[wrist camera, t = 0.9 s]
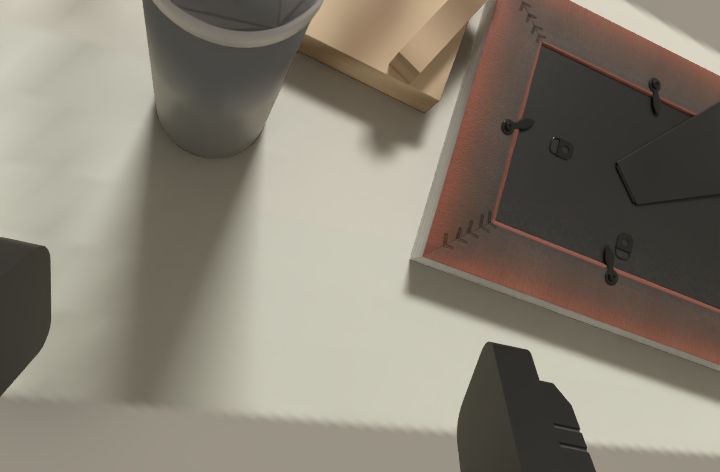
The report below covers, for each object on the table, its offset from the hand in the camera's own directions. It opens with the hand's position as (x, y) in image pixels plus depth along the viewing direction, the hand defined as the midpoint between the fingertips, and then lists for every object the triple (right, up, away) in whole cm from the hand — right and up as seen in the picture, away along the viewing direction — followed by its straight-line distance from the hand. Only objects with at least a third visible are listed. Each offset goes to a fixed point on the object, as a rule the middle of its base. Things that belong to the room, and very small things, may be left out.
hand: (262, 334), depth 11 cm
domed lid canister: (-5, +8, +18) cm, 21 cm away
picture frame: (+16, +5, +25) cm, 30 cm away
